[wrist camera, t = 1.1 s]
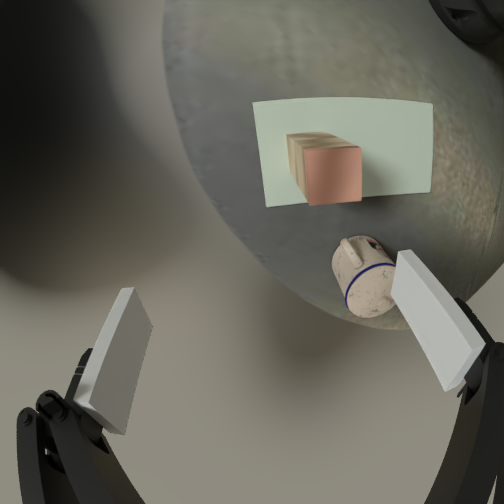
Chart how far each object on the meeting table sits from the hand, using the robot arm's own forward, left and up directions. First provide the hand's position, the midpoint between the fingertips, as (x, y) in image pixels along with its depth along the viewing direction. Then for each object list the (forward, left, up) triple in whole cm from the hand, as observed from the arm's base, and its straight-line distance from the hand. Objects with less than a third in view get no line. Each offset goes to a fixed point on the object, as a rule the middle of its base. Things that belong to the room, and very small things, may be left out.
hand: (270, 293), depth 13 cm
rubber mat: (-14, -1, -25) cm, 29 cm away
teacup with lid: (-14, +15, -25) cm, 32 cm away
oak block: (-7, -1, -25) cm, 26 cm away
